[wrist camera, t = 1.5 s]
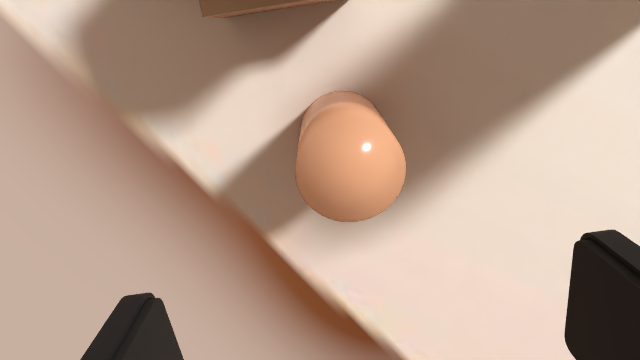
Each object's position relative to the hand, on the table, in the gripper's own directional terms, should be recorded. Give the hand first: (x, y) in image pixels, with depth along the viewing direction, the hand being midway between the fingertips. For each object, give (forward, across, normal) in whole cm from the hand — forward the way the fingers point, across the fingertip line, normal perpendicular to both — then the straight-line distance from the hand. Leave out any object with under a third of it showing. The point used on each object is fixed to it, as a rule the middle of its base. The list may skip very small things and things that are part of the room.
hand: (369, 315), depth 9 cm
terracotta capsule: (+17, 0, 0) cm, 17 cm away
